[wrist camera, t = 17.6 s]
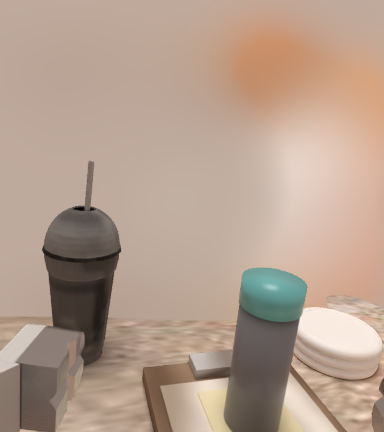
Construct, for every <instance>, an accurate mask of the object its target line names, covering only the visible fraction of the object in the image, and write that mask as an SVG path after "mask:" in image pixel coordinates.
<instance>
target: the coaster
mask: <svg viewBox="0 0 384 432" xmlns="http://www.w3.org/2000/svg"><path fill="white" fill-rule="evenodd" d="M382 350H383V343H382V340H381V338H380V336H379V335H378V334H377V332H376V331H375V330H374V329H373V328H372V327H371V326H369V325H368V324H366V323H365V322H363V321H362V320H360V319H358V318H356V317H354V316H351V315H349V314H346V313H344V312H340V311H337V310H333V309H328V308H319V307H312V308H305V309H303V313H302V316H301V317H300V320H299V326H298V331H297V336H296V341H295V346H294V352H293V353H294V354H295V356H296V357H298V358H299V359H300V360H301V361H302V362H303V363H305V364H306V365H308V366H309V367H311V368H313V369H315V370H317V371H319V372H321V373H324V374H326V375H329V376H332V377H336V378H341V379H349V380H358V379H365V378H368V377H370V376H372V375H373V374H374V373H375V372H376V370H377V369H378V362H379V361H380V353H381V352H382Z"/></svg>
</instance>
